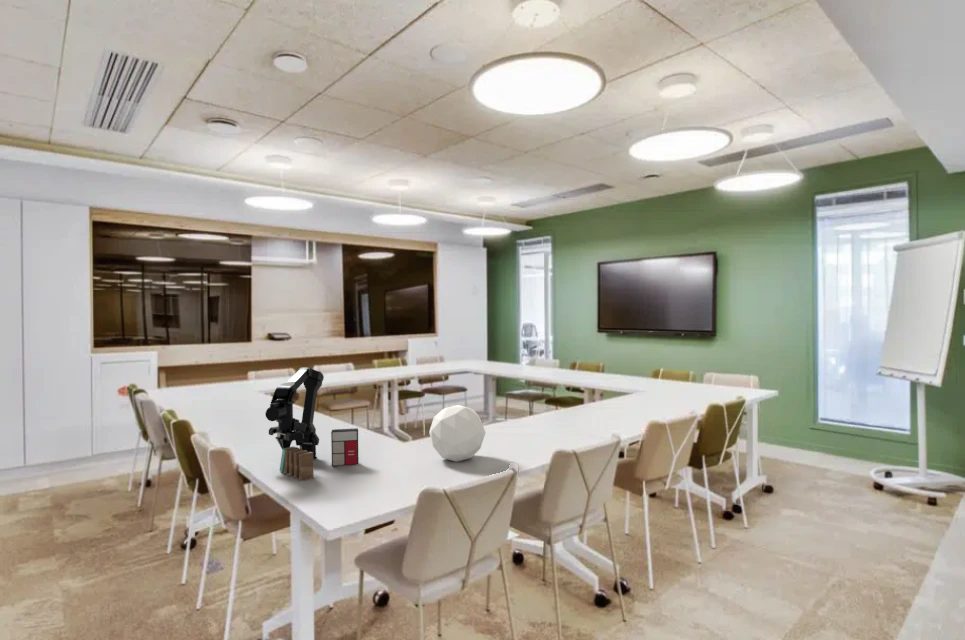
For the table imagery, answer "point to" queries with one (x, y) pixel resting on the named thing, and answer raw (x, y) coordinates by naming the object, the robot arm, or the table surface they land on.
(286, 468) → the domino
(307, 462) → the domino
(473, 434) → the geometric sculpture
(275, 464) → the table surface
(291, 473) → the domino
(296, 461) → the domino
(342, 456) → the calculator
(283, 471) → the domino
